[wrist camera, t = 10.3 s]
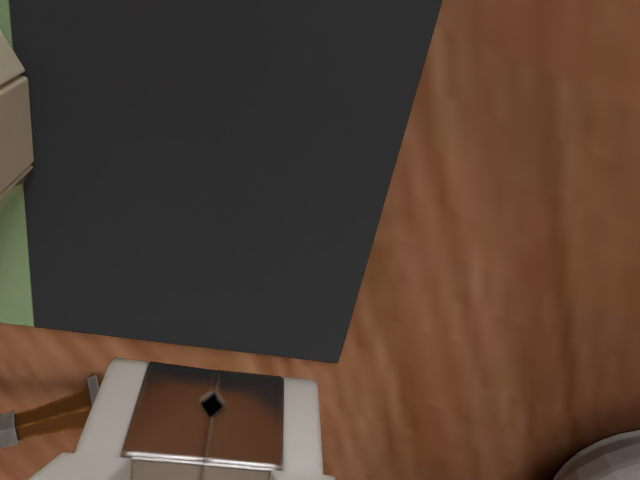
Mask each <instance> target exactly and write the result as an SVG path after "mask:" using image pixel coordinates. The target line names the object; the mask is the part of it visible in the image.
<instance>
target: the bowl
mask: <svg viewBox="0 0 640 480" xmlns="http://www.w3.org/2000/svg"><path fill="white" fill-rule="evenodd" d="M24 72H25V69H24V67H23V65H22V64H21V62H20V60H19V59H18V57H17V56H16V54H15V52H14V51H13V49H12V47H11V46H10V44H9V43H8V41H7V39H6V38H5V36H4V34H3V33H2V31H1V29H0V217H1V216H2V214H3V213H4V211H5V209H6V208H7V206H8V205H9V203H10V202H11V200H12V199H13V197H14V196H15V194H16V193H17V191H18V190H19V188H20V187H21V185H22V184H23V182H24V181H25V179H26V178H27V176H28V175H29V173H30V171H31V170H32V168H33V166H32V165H31V164H32V163H33V161H34V157H33V143H32V128H31V114H30V100H29V86H28V78H27V77H25V76H20V75H21V74H23V73H24Z"/></svg>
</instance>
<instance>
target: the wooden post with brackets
mask: <svg viewBox="0 0 640 480" xmlns="http://www.w3.org/2000/svg"><path fill="white" fill-rule="evenodd" d="M87 382H88V387H86V388H84V389H82V390H80V391H78V392H76V393H74V394H72V395H69V396H67V397H64V398H61V399H59V400H56V401H54V402H51V403H48V404H46V405H43V406H40V407H38V408H35V409H32V410H28V411H24V412H21V413H17V414H15V412H14V410H12V411H10V412H8V413H6V414H2V415H0V449H1V448H5V447H8V446H13V445H19V440H21V439H25V438H29V437H33V436H37V435H41V434H47V433H53V432H59V431H65V430H71V429H78V428H84V426H85V424H86V421H87V419H88V416H89V414H90V411H91V409H92V406H93V404H94V401H95V399H96V396H97V393H98V391H99V385H98V381H97V376H96V374H95V375H94V376H93V377H90V378H88V377H87Z"/></svg>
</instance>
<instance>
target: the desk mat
mask: <svg viewBox="0 0 640 480" xmlns="http://www.w3.org/2000/svg"><path fill="white" fill-rule="evenodd" d="M441 3H442V0H0V29H1V31H2V33H3V34H4V36H5V38H6V39H7V41H8V43H9V44H10V46H11V47H12V49H13V51H14V52H15V54H16V56H17V57H18V59H19V60H20V62H21V64H22V65H23V67H24V69H25V72H24V73H23V74H21V75H20V76H25V77H27V78H28V86H29V100H30V114H31V128H32V143H33V157H34V161H33V163H32V164H31V165H32V166H33V168H32V170H31V171H30V173H29V175H28V176H27V178H26V179H25V181H24V182H23V184H22V185H21V187H20V188H19V190H18V191H17V193H16V194H15V196H14V197H13V199H12V200H11V202H10V203H9V205H8V206H7V208H6V209H5V211H4V213H3V214H2V216H1V217H0V323H6V324H14V325H22V326H31V327H34V326H35V327H39V328H47V329H56V330H64V331H72V332H81V333H89V334H97V335H106V336H114V337H122V338H131V339H139V340H147V341H156V342H164V343H172V344H181V345H189V346H197V347H206V348H214V349H222V350H231V351H239V352H247V353H256V354H264V355H272V356H281V357H289V358H297V359H306V360H314V361H322V362H331V363H338V362H339V358H340V355H341V351H342V348H343V344H344V341H345V337H346V334H347V331H348V327H349V324H350V320H351V317H352V313H353V310H354V306H355V303H356V299H357V296H358V292H359V289H360V285H361V282H362V278H363V275H364V271H365V268H366V264H367V261H368V257H369V254H370V250H371V247H372V243H373V240H374V237H375V233H376V230H377V226H378V223H379V219H380V216H381V212H382V209H383V205H384V202H385V198H386V195H387V191H388V188H389V184H390V181H391V177H392V174H393V170H394V167H395V163H396V160H397V156H398V153H399V149H400V146H401V143H402V139H403V136H404V132H405V129H406V125H407V122H408V118H409V115H410V111H411V108H412V104H413V101H414V97H415V94H416V90H417V87H418V83H419V80H420V76H421V73H422V69H423V66H424V62H425V59H426V55H427V52H428V49H429V45H430V42H431V38H432V35H433V31H434V28H435V24H436V21H437V17H438V14H439V10H440V7H441Z"/></svg>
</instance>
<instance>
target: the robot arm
mask: <svg viewBox="0 0 640 480" xmlns="http://www.w3.org/2000/svg"><path fill="white" fill-rule="evenodd" d="M27 480H336V478H335V477H334V476H331V475H323V461H322V445H321V429H320V412H319V396H318V385H317V383H316V381H315V380H309V379H300V378H290V377H283V378H282V377H280V376H270V375H260V374H251V373H241V372H231V371H221V370H217V371H216V370H208V369H201V368H194V367H186V366H179V365H172V364H164V363H157V362H144V361H137V360H130V359H123V358H116V357H115V358H114V359H113V360H112V362H111V363H110V364H109V365H108V368H107V371H106V373H105V376H104V378H103V381H102V383H101V386H100V388H99V391H98V393H97V396H96V399H95V401H94V404H93V406H92V409H91V411H90V414H89V416H88V419H87V421H86V424H85V426H84V429H83V432H82V434H81V437H80V439H79V442H78V444H77V447H76V449H75V452H74V453H67V452H62V453H61V454H59V455H58V456H57V457H56V458H54V459H53V460H52V461H50V462H49V463H48V464H47V465H45V466H44V467H43V468H41V469H40V470H39V471H38V472H36V473H35V474H34V475H32V476H31V477H30V478H29V479H27Z"/></svg>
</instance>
